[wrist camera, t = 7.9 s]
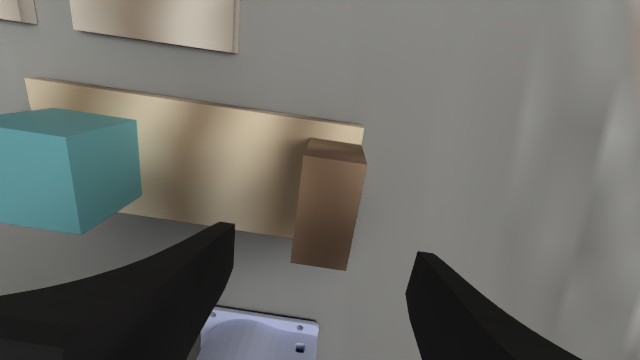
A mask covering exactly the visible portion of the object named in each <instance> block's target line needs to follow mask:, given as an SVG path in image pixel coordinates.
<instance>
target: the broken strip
mask: <svg viewBox="0 0 640 360" xmlns="http://www.w3.org/2000/svg"><path fill="white" fill-rule="evenodd" d="M70 6H71V14H72V21H73V29H74V30H80V31H87V32H93V33H100V34H107V35H114V36H121V37H127V38H134V39H141V40H148V41H155V42H162V43H168V44H175V45H182V46H189V47H196V48H202V49H209V50H216V51H223V52H230V53H237V54H238V36H239V11H240V0H70ZM0 19H5V20H11V21H18V22H25V23H32V24H38V23H37V17H36V11H35V6H34V0H0Z"/></svg>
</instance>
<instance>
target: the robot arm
mask: <svg viewBox="0 0 640 360" xmlns="http://www.w3.org/2000/svg"><path fill="white" fill-rule="evenodd" d="M234 239H235V224H233V223H227V222H218V223H215V224H214V225H212V226H210V227H208V228H206V229H204V230H202V231H200V232H199V233H197V234H195V235H193V236H191V237H189V238H187V239H186V240H184V241H182V242H180V243H178V244H176V245H173V246H171V247H169V248H167V249H165V250H163V251H161V252H159V253H157V254H154V255H152V256H150V257H147V258H145V259H142V260H140V261H137V262H134V263H132V264H129V265H126V266H124V267H121V268H117V269H114V270H111V271H108V272H104V273H101V274H98V275H95V276H91V277H88V278H84V279H80V280H76V281H72V282H69V283H64V284H60V285H55V286H51V287H46V288H41V289H37V290H31V291H25V292H20V293H14V294H8V295H2V296H0V360H186V359H187V357H188V354H189V352H190V350H191V348H192V347H193V345H194V343H195V341H196V339H197V337H198V335H199V334H200V332H201V351H200V353H199V355H198V357H197V359H196V360H316V350H317V337H318V331H319V325H318V324H317V323H316V322H313V321H306V320H299V319H293V318H286V317H280V316H273V315H267V314H260V313H253V312H247V311H240V310H234V309H227V308H221V307H215V306H216V304H217V302H218V300H219V298H220V297H221V295H222V293H223V291H224V289H225V287H226V284H227V282H228V280H229V277H230V274H231V272H232V269H233V261H234ZM405 294H406V300H407V307H408V313H409V318H410V322H411V325H412V328H413V332H414V335H415V338H416V342H417V345H418V348H419V351H420V355H421V358H422V360H582V359H580V358H578V357H576V356H575V355H573V354H571V353H569V352H567V351H566V350H564V349H562V348H561V347H559V346H557V345H555V344H554V343H552V342H550V341H549V340H547V339H545V338H544V337H542V336H540V335H539V334H537V333H536V332H534V331H532V330H531V329H529V328H528V327H526V326H525V325H523V324H522V323H520V322H519V321H518V320H516V319H515V318H513V317H512V316H510V315H509V314H507V313H506V312H505V311H503V310H502V309H500V308H499V307H498V306H497V305H495V304H494V303H493V302H491V301H490V300H489V299H488V298H486V297H485V296H484V295H482V294H481V293H480V292H479V291H478V290H476V289H475V288H474V287H473V286H472V285H470V284H469V283H468V282H467V281H466V280H464V279H463V278H462V277H461V276H460V275H459V274H458V273H456V272H455V271H454V270H453V269H452V268H451V267H450V266H448V265H447V264H446V263H445V262H444V261H443V260H441V259H440V258H439V257H438V256H436V255H435V254H433V253H427V252H420V251H418V252H417V256H416V259H415V263H414V266H413V269H412V273H411V276H410V280H409V283H408V287H407V290H406V293H405ZM213 312H214V313H213ZM299 325H300V326H302V327H300V326H299Z"/></svg>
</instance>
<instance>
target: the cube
mask: <svg viewBox="0 0 640 360" xmlns="http://www.w3.org/2000/svg"><path fill="white" fill-rule="evenodd" d="M141 196H142V187H141V174H140V161H139V148H138V134H137V121H136V120H134V119H127V118H121V117H114V116H107V115H100V114H94V113H87V112H80V111H74V110H67V109H60V108H48V109H40V110H33V111H25V112H18V113H10V114H3V115H0V223H6V224H12V225H19V226H26V227H32V228H39V229H45V230H52V231H59V232H65V233H72V234H79V235H82V234H83V233H85V232H86V231H88V230H90V229H91V228H93V227H94V226H96V225H97V224H99V223H100V222H102V221H104V220H105V219H107V218H108V217H110V216H111V215H113V214H115V213H116V212H118V211H119V210H121V209H122V208H124V207H125V206H127V205H129V204H130V203H132V202H133V201H135V200H136V199H138V198H140V197H141Z"/></svg>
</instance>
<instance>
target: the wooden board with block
mask: <svg viewBox="0 0 640 360" xmlns="http://www.w3.org/2000/svg"><path fill="white" fill-rule="evenodd" d="M25 82H26V87H27V93H28V98H29V103H30V108H31V111H33V110H40V109H48V108H60V109H67V110H74V111H80V112H87V113H94V114H100V115H107V116H114V117H121V118H127V119H134V120H136V121H137V134H138V148H139V161H140V174H141V187H142V196H141V197H140V198H138V199H136V200H135V201H133V202H132V203H130V204H129V205H127V206H125V207H124V208H122V209H121V210H119V211H118V212H120V213H126V214H133V215H140V216H146V217H153V218H160V219H166V220H173V221H180V222H186V223H193V224H199V225H206V226H212V225H214V224H215V223H218V222H227V223H233V224H235V230H239V231H246V232H253V233H259V234H266V235H273V236H279V237H286V238H292V239H293V245H292V254H291V262H290V263H296V264H303V265H310V266H316V267H323V268H330V269H336V270H343V271H346V268H347V263H348V258H349V253H350V248H351V243H352V238H353V233H354V228H355V223H356V218H357V213H358V208H359V203H360V198H361V193H362V188H363V183H364V178H365V174H366V169H367V162H366V159H365V156H364V152H363V149H362V146H361V143H362V138H363V133H364V126H363V125H359V124H352V123H345V122H339V121H332V120H325V119H318V118H311V117H305V116H298V115H291V114H284V113H278V112H271V111H264V110H257V109H251V108H244V107H237V106H230V105H223V104H217V103H210V102H203V101H196V100H190V99H183V98H176V97H169V96H163V95H156V94H149V93H142V92H135V91H129V90H122V89H115V88H108V87H102V86H95V85H88V84H81V83H75V82H68V81H61V80H54V79H47V78H41V77H40V78H25Z"/></svg>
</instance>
